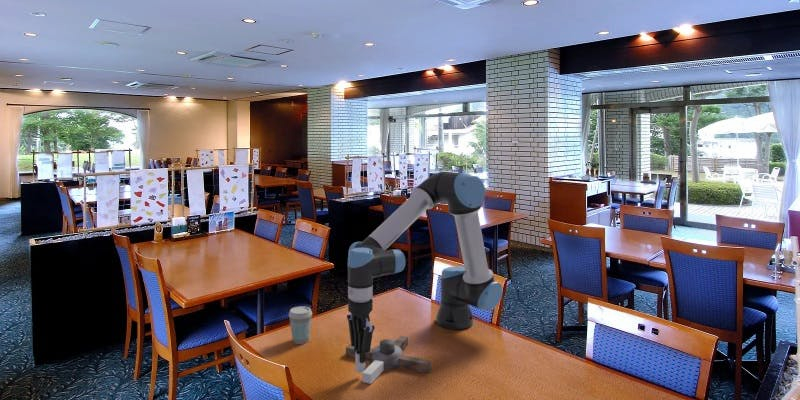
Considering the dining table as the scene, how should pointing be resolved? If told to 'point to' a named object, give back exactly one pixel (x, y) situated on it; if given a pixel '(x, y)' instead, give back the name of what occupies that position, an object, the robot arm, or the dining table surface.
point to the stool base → (394, 355)
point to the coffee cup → (300, 324)
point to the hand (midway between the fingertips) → (360, 370)
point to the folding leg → (372, 371)
